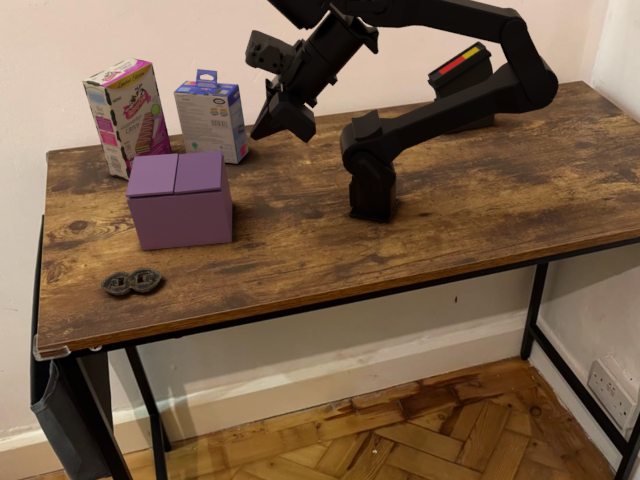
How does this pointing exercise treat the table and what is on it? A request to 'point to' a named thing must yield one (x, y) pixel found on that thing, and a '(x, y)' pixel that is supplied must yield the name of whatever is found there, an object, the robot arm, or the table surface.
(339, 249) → the table surface
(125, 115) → the candy bar box
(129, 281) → the corroded twin loop
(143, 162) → the box
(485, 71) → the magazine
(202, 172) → the flap
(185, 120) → the ink cartridge box
